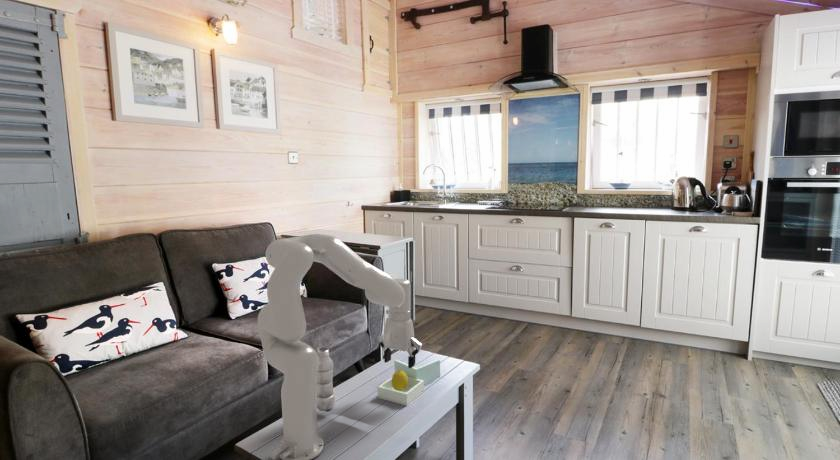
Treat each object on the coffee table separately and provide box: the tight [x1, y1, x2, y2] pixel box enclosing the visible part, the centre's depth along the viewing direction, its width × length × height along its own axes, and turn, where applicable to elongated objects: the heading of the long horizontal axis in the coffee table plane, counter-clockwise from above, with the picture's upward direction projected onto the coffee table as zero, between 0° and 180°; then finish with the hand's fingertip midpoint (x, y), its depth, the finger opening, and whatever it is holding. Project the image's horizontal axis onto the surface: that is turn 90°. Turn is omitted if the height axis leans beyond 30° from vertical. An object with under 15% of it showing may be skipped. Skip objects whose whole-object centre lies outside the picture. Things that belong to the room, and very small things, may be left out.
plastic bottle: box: [316, 347, 336, 411], centre depth 147 cm, size 6×7×20 cm
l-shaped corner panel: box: [393, 359, 441, 386], centre depth 169 cm, size 12×12×8 cm
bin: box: [377, 376, 425, 407], centre depth 157 cm, size 12×12×4 cm
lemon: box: [392, 370, 408, 391], centre depth 157 cm, size 6×6×8 cm
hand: (399, 364), depth 155 cm, fingers open, 9 cm apart
